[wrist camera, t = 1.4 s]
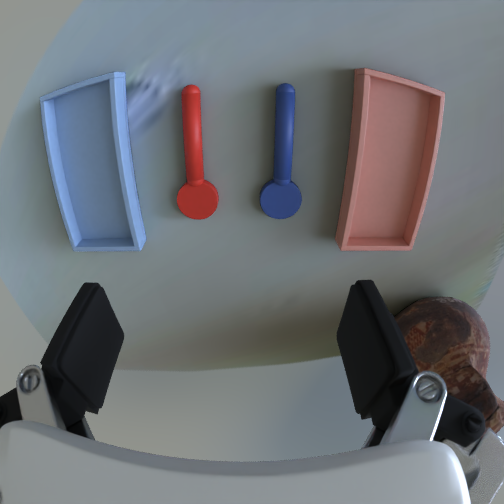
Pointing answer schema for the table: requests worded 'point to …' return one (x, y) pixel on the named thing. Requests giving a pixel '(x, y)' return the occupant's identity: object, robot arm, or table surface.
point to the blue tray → (93, 164)
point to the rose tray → (388, 161)
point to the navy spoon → (282, 160)
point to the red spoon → (194, 161)
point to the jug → (453, 351)
